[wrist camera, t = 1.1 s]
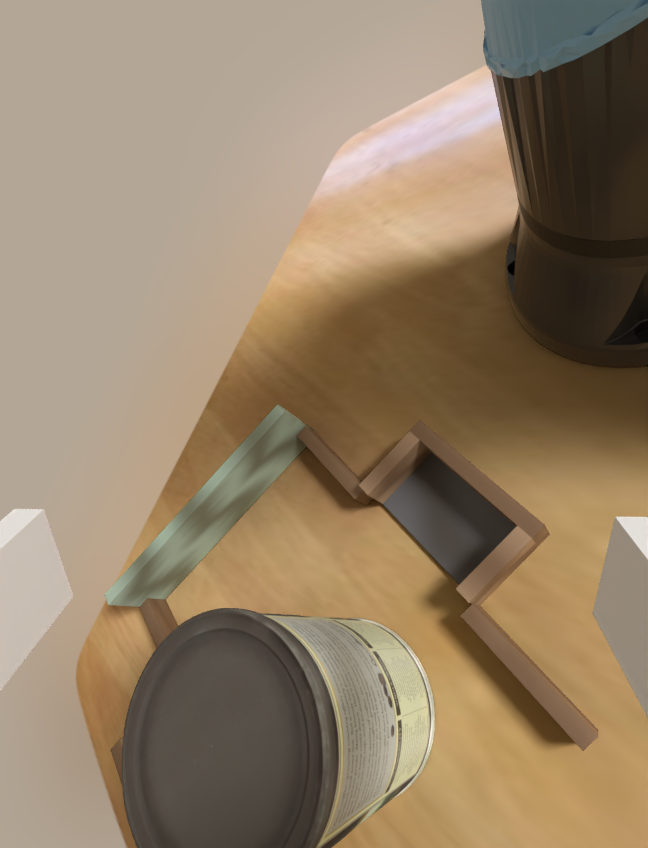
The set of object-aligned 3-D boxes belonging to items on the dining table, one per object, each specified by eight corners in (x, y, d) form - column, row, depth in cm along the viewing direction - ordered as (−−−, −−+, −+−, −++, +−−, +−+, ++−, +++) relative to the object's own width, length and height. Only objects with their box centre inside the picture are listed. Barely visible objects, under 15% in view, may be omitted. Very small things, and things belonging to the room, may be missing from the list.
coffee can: (375, 851, 28) (213, 1005, 16) (262, 712, 34) (85, 752, 22) (472, 695, 28) (381, 737, 17) (343, 585, 34) (212, 560, 23)
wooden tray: (359, 373, 40) (332, 343, 36) (683, 647, 24) (699, 650, 20) (108, 647, 42) (55, 649, 38) (259, 1057, 27) (197, 1133, 23)
